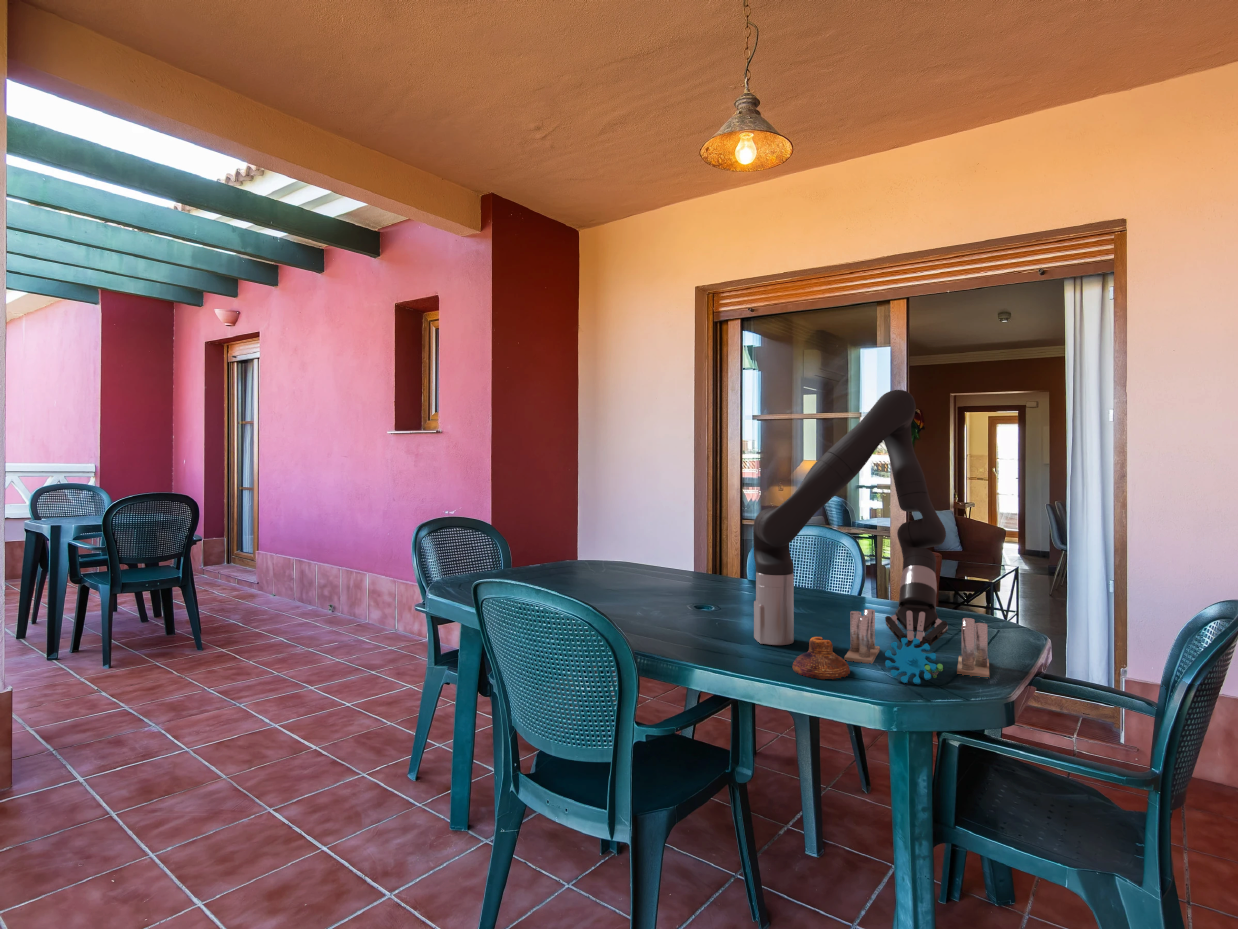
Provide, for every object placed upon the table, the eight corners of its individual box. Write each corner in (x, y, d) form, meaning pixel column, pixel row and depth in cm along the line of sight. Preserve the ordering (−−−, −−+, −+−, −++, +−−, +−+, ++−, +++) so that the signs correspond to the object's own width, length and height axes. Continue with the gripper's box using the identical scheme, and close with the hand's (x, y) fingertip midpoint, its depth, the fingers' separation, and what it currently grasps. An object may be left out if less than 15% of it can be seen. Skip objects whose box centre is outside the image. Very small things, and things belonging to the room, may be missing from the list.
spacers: (854, 645, 168) (854, 607, 168) (987, 660, 154) (987, 619, 154) (846, 655, 158) (846, 616, 158) (987, 672, 145) (987, 629, 145)
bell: (788, 663, 156) (788, 631, 156) (844, 665, 155) (843, 632, 154) (796, 680, 144) (796, 645, 144) (856, 681, 143) (855, 646, 143)
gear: (877, 672, 143) (892, 629, 147) (880, 684, 147) (894, 642, 151) (935, 690, 136) (948, 646, 141) (936, 702, 140) (949, 658, 145)
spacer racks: (853, 646, 169) (853, 643, 169) (988, 662, 156) (988, 659, 155) (844, 660, 157) (844, 657, 157) (989, 678, 144) (989, 674, 144)
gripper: (884, 578, 156) (878, 646, 145) (950, 583, 150) (948, 654, 139) (887, 598, 161) (881, 665, 150) (951, 603, 155) (949, 673, 144)
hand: (913, 659), depth 144 cm, fingers closed
